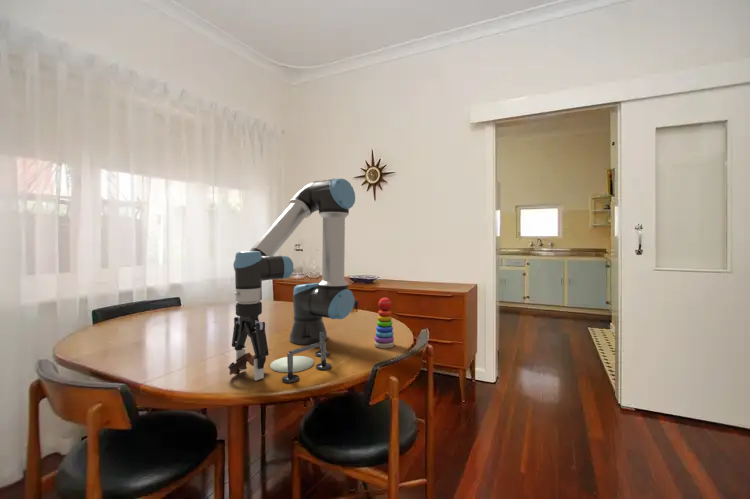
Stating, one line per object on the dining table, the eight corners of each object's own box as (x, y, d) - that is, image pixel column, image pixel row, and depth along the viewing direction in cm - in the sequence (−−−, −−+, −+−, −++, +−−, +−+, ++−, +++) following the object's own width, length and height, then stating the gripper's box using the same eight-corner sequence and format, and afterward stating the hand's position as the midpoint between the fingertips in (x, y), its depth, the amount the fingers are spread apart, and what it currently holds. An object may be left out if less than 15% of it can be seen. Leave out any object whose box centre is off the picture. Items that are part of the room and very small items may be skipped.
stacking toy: (393, 349, 133) (392, 300, 132) (372, 348, 135) (371, 299, 134) (396, 343, 141) (395, 296, 140) (376, 342, 142) (375, 295, 142)
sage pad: (262, 365, 118) (262, 364, 118) (296, 354, 128) (296, 353, 128) (287, 376, 109) (287, 374, 109) (322, 363, 119) (322, 362, 119)
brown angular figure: (253, 387, 102) (237, 363, 102) (233, 395, 107) (218, 372, 106) (278, 363, 113) (264, 341, 112) (260, 371, 117) (246, 350, 117)
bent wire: (260, 371, 112) (259, 345, 112) (322, 351, 132) (322, 328, 131) (288, 384, 102) (288, 355, 102) (351, 360, 122) (351, 335, 122)
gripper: (219, 299, 113) (220, 369, 113) (257, 308, 98) (258, 388, 99) (241, 296, 118) (242, 363, 119) (280, 304, 104) (281, 380, 104)
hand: (249, 374), depth 109 cm, fingers closed on brown angular figure, 10 cm apart
